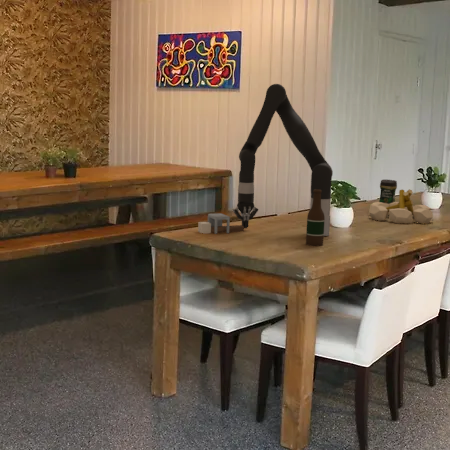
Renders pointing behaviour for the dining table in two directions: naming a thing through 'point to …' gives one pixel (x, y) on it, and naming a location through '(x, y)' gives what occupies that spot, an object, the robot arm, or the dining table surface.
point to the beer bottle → (315, 221)
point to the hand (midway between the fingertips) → (245, 228)
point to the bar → (231, 228)
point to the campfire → (401, 210)
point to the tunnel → (218, 221)
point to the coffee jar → (388, 191)
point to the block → (204, 227)
